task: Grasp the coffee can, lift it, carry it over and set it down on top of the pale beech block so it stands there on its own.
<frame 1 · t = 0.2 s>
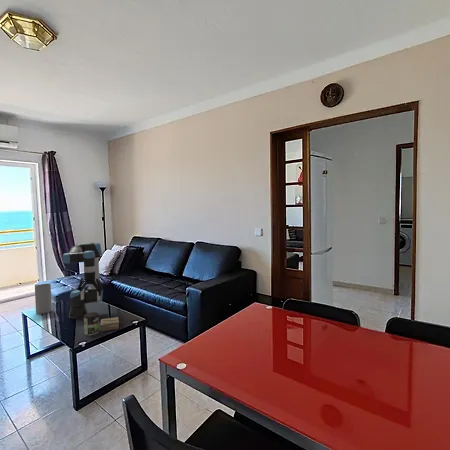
hand: (90, 299, 216), 27 cm above the table, fingers open, 13 cm apart
cylinder vase: (44, 312, 269), on the table
coffee can: (91, 332, 221), on the table
beech block: (110, 326, 232), on the table
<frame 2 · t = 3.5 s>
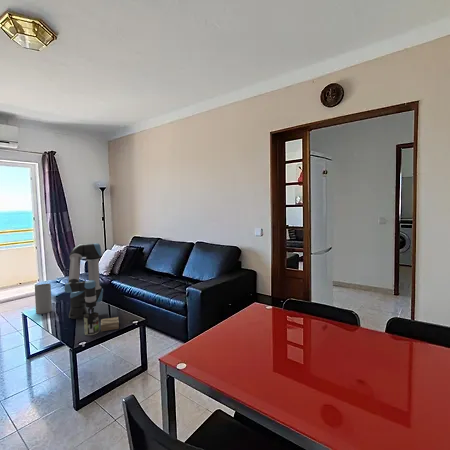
hand: (91, 329, 221), 2 cm above the table, fingers closed on coffee can, 10 cm apart
coffee can: (91, 332, 221), on the table, touching gripper
everything else where it was.
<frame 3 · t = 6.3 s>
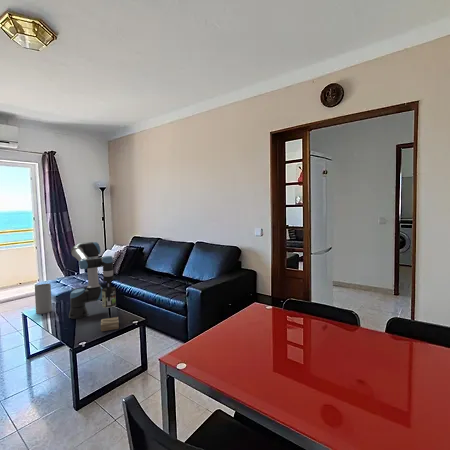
hand: (109, 303, 231), 20 cm above the table, fingers closed on coffee can, 10 cm apart
coffee can: (109, 306, 231), point 17 cm above the table, touching gripper
everything else where it was.
when the fingers open (9 cm above the table, at t = 9.2 s): coffee can drops 1 cm, resting on beech block.
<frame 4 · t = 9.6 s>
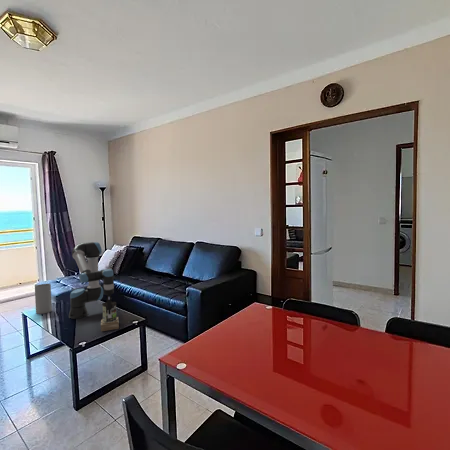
hand: (109, 315, 231), 10 cm above the table, fingers open, 13 cm apart
coffee can: (109, 320, 232), point 5 cm above the table, touching beech block
everything else where it was.
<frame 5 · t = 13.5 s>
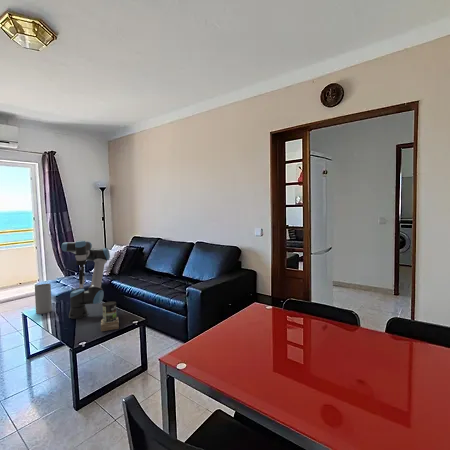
hand: (82, 285, 234), 33 cm above the table, fingers open, 13 cm apart
nothing on the table moved.
at the end: coffee can inside the target area on the beech block (0.3 cm from its centre), point 4.9 cm above the beech block's base; coffee can tilted 0°; the gripper is holding nothing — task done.
